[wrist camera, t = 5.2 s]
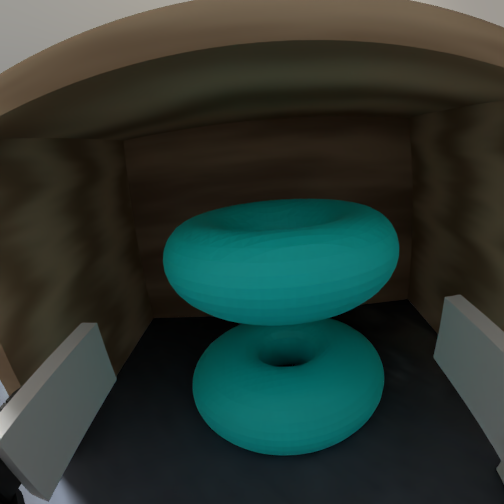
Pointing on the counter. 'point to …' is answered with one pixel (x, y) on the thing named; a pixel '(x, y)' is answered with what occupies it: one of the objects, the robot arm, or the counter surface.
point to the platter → (501, 471)
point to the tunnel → (243, 154)
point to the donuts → (284, 318)
